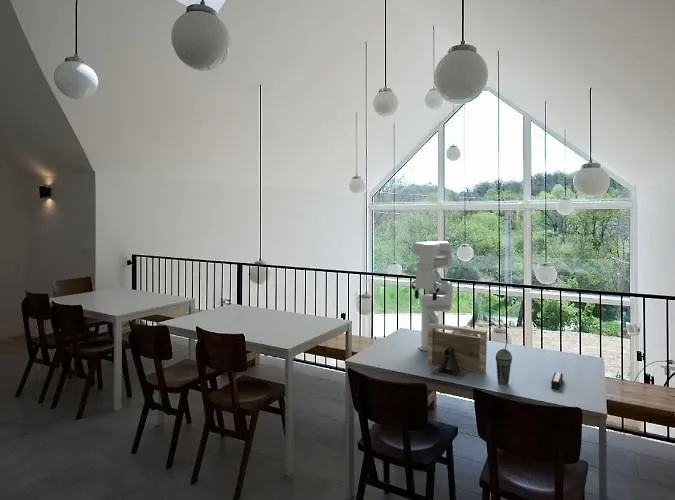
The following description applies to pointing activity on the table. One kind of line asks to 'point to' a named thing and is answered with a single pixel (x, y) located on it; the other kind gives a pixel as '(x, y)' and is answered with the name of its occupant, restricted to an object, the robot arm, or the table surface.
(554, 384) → the bus
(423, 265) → the robot arm
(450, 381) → the table surface
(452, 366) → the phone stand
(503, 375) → the beverage cup
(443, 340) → the model door
